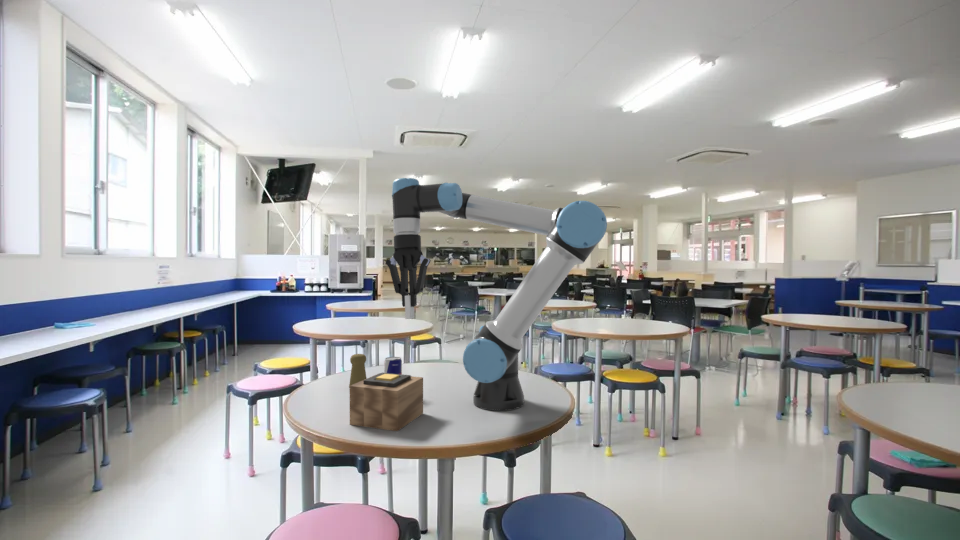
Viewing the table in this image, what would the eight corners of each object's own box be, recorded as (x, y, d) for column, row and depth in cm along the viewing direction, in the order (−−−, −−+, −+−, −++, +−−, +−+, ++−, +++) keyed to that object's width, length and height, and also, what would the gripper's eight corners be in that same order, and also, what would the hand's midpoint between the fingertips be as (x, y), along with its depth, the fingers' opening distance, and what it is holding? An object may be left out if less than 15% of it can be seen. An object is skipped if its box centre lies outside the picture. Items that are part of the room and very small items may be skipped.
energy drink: (397, 399, 135) (397, 360, 135) (381, 398, 136) (381, 359, 136) (404, 394, 140) (404, 357, 140) (388, 393, 141) (388, 356, 141)
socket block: (423, 413, 122) (423, 373, 122) (397, 431, 109) (397, 387, 109) (379, 408, 127) (379, 369, 127) (349, 424, 114) (349, 382, 114)
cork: (348, 385, 151) (348, 353, 151) (367, 383, 153) (366, 352, 153) (349, 389, 146) (349, 356, 145) (368, 388, 147) (367, 355, 147)
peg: (399, 408, 119) (399, 375, 119) (390, 413, 115) (390, 378, 115) (385, 406, 121) (384, 373, 121) (376, 411, 117) (376, 377, 117)
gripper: (433, 234, 126) (436, 316, 126) (392, 236, 129) (394, 316, 129) (423, 232, 119) (426, 320, 119) (379, 234, 122) (382, 320, 122)
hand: (409, 318), depth 124 cm, fingers closed
